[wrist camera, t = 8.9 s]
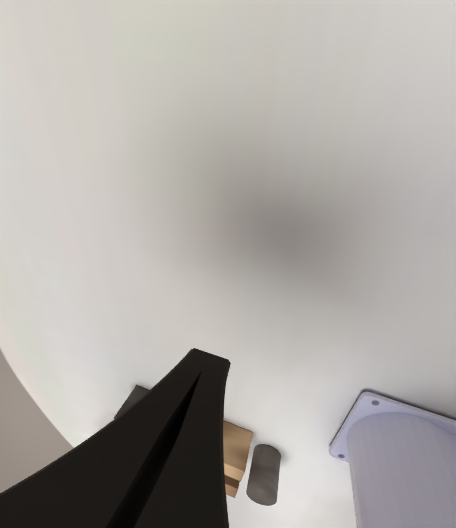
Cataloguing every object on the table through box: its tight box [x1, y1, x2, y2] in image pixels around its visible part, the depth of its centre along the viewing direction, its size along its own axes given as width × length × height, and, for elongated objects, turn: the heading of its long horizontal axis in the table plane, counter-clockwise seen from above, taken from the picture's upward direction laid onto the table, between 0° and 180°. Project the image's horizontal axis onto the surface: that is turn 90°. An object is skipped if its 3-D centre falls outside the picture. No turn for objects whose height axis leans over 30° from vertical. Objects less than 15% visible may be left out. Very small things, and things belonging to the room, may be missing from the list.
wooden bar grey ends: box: [114, 385, 252, 481], centre depth 26 cm, size 12×2×4 cm, turn 77°
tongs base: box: [225, 445, 281, 506], centre depth 27 cm, size 16×4×4 cm, turn 80°
